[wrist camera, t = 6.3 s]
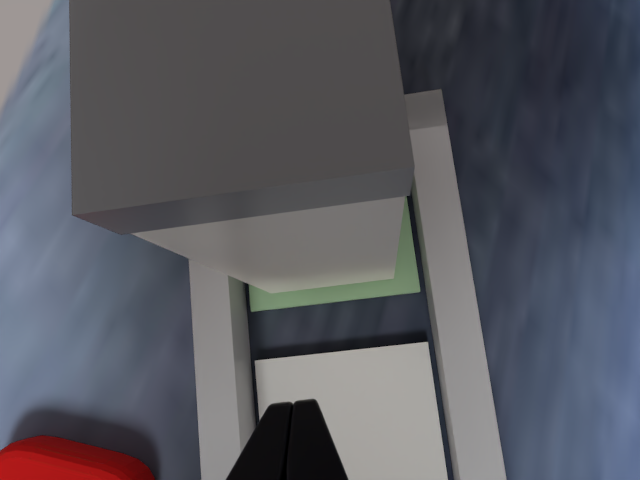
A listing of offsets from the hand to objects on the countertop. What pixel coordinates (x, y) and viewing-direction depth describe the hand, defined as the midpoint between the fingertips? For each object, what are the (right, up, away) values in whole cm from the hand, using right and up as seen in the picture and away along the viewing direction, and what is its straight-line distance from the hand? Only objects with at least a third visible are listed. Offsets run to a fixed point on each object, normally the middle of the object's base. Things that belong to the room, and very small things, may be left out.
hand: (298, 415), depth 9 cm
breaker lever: (+1, +4, +8) cm, 9 cm away
